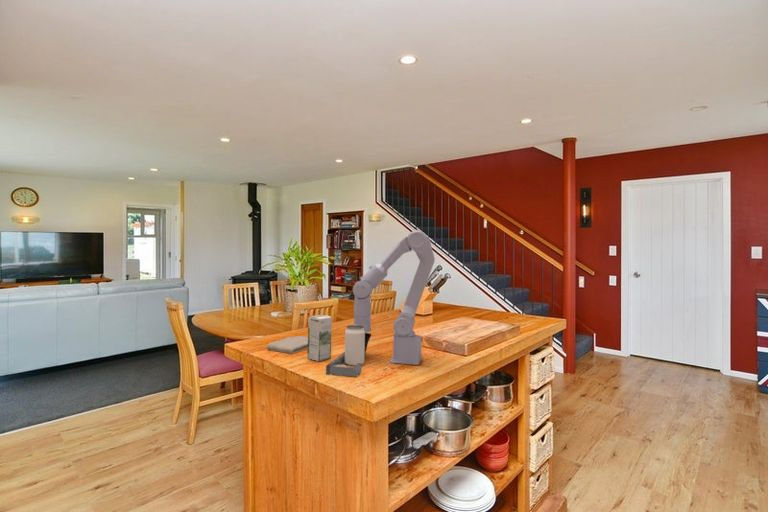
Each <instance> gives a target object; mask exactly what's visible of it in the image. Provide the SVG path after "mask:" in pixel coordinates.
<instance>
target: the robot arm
mask: <svg viewBox="0 0 768 512" xmlns="http://www.w3.org/2000/svg"><path fill="white" fill-rule="evenodd" d="M412 251H414V253H415V255H416V256H417V258H418V260H419V263H418V265H417V269H416V272H415V274H414V276H413V279H412V283H411V285H410V287H409V291H408V293H407V295H406V299H405V300H404V301H405V302H404V304H403V307H402V309H401V312H400V314H399V315H398V316H397V318H396V319H395V320H394V322H393V330H394V332H393V342H392V343H393V348H392V349H393V350H392V353H393V354H392V357H391V359H390V361H389V363H391V364H403V365H413V366H414V365H415V366H418V365H419V364H420V362H421V361H422V345H423V343H422V336H421V335H416V332H415V331H414V330H413V328H414V326H415V324H416V322H415V321H416V320H415V319H416V318H415V316H416V313H417V310H418V307H419V304H420V301H421V299H422V297H423V293H424V291H425V287H426V286H427V282H428V280H429V278H430V274H431V272H432V269H433V267H434V264H435V255H434V254H435V253H434V251H433V246H432V242H431V240H430V239H429V237H428V235H427V234H426V233H425V232H423V231H422V230H417V229H415V230H412V231H411V232H410V233H408V235H407V236H405V237H404V238H402V240H400V241H399V242H398V243H397V244H396V245H395V246H394V248H392V250H391V251H390V252H389V253H388V254H387V256H386V257H385V258H384V259H383V260H382V262H380V263H374V265H372V264H371V265H370V266H369V267H368V268H369V270H368V271H367V272H366V273H365V274H364V275H363V276H360V277H359V278H360V279H359V280H358V281H356V282H355V283H354V285H353V287H352V293H353V295H354V302H353V325H360V326H363V327H364V328H363V329H364V331H365V354H366V352H367V349H368V348H367V347H368V345H369V344H368V343H369V341H370V339H371V336H372V333H370V332H371V331H372V328H371V327H372V326H371V324H372V323H371V322H372V321H371V320H372V319H371V318H372V317H371V315H372V314H371V310H372V308H371V307H372V304H371V303H372V302H371V299H372V297H371V294H372V293H373V290H374V289H377V288H378V286H379V285H380V283H382V282H383V281H384V280H385V279H386V278H387V276H388V270H389V269H390V268H391V267H392V266H393V265H394V263H396V262H397V261H398V259H400V258H401V257H402V256H403V255H404V254H407V253H410V252H412Z"/></svg>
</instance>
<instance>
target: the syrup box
mask: <svg viewBox="0 0 768 512" xmlns="http://www.w3.org/2000/svg"><path fill="white" fill-rule="evenodd" d="M332 320H333V317H332V316H329V315H326V314H317V315H312V316H308V321H307V323H308V325H307V327H308V328H307V330H308V331H307V337H308V349H307V354H306V355H307V356H306V357H307V358H306V359H308V360H311V359H312V360H311V361H314V360H316V361H315V362H318V361H319V362H322V361H326V360H328V359H331V357H332V356H331V355H332V331H333V330H332V328H333V326H332V325H333V324H332V323H333V321H332Z"/></svg>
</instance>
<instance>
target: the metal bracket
mask: <svg viewBox="0 0 768 512" xmlns="http://www.w3.org/2000/svg"><path fill="white" fill-rule="evenodd" d="M343 364H344V365H343ZM362 367H363V364H362V363H357V364H356V365H355V366H349V365H347V364H346V365H345V351H344V352H343V353H341V354H340V355H339V356H337V357H336V358H334V359H333V360H331V361H330V362H329V363H328V364H327V365H326V366H325V375H330V374H334V375H333V376H340V375H342V377H350V376H352V378H357V377H358V376H359V375H360V374H361V373H362ZM357 375H358V376H357ZM356 376H357V377H356Z"/></svg>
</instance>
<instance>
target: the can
mask: <svg viewBox="0 0 768 512" xmlns="http://www.w3.org/2000/svg"><path fill="white" fill-rule="evenodd" d="M363 328H364V327H363V326H360V325H354V324H353V325H351V324H350V325H347V326H346V329H345V331H344V332H345V333H344V352H345V362H344V364H346V365H347V366H349V367H354V366H355V365H356V364H357V363H362V365H364V364H365V356H366V353H365V331H364V329H363Z"/></svg>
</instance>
